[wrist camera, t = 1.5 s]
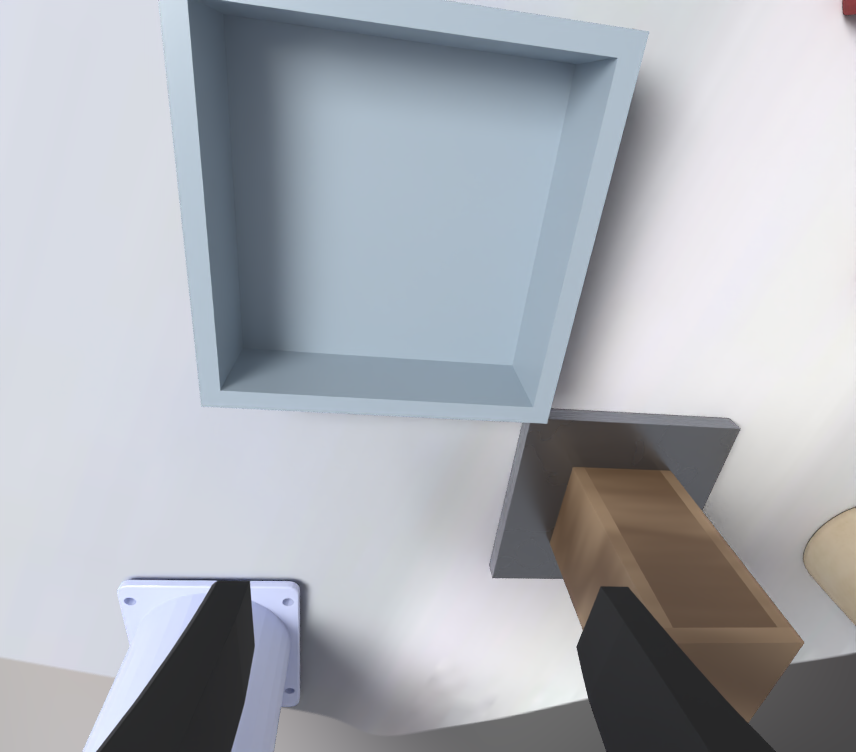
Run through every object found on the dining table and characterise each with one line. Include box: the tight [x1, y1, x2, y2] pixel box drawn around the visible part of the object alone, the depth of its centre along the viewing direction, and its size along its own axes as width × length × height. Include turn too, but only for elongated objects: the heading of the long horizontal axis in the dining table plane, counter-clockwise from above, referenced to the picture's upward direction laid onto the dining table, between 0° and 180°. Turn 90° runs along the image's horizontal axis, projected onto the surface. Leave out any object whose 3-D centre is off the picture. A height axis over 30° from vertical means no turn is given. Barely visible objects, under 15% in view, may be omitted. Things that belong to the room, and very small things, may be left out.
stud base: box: [489, 409, 740, 579], centre depth 22 cm, size 9×9×3 cm
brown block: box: [550, 467, 804, 723], centre depth 20 cm, size 4×4×8 cm
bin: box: [158, 0, 649, 424], centre depth 16 cm, size 11×11×4 cm
